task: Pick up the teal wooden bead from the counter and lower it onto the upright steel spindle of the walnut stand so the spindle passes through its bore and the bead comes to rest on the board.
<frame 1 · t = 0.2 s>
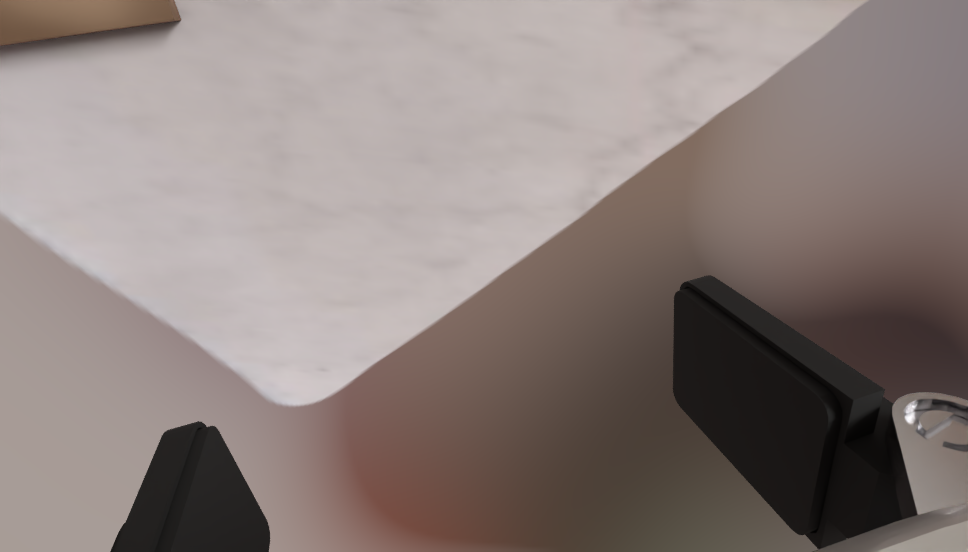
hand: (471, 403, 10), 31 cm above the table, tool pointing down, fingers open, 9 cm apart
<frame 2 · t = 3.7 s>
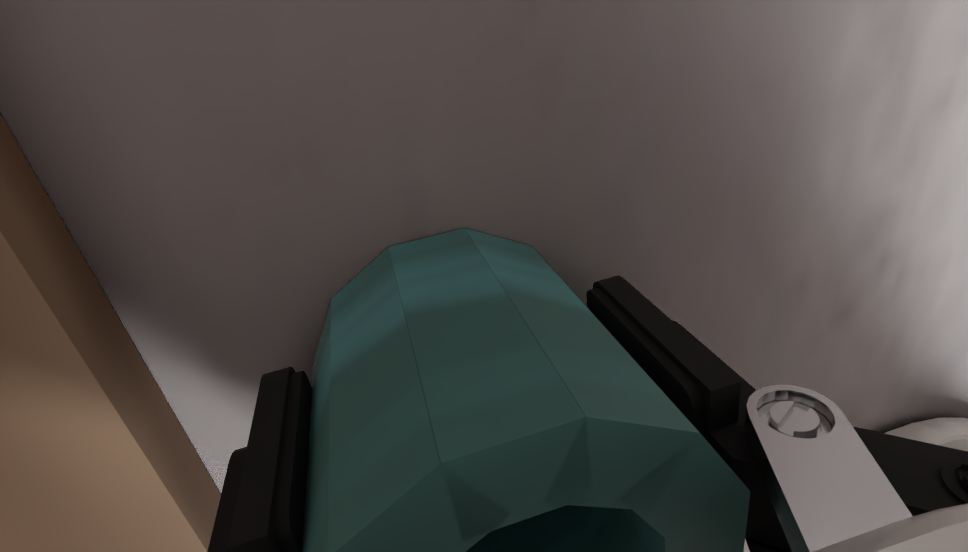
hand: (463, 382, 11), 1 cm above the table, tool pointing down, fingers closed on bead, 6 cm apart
bead: (453, 354, 12), on the table, touching gripper
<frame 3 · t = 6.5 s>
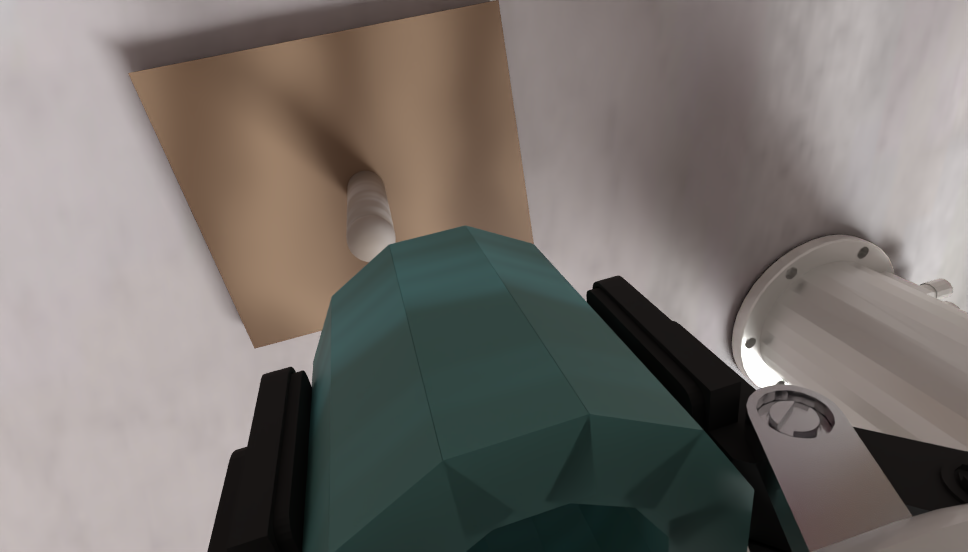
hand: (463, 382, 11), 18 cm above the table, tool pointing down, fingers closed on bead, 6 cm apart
bead: (454, 352, 12), point 17 cm above the table, touching gripper
spindle stand: (365, 181, 27), on the table
when the fingers open (5 cm above the table, at t = 9.3 s): bead drops 2 cm, resting on spindle stand.
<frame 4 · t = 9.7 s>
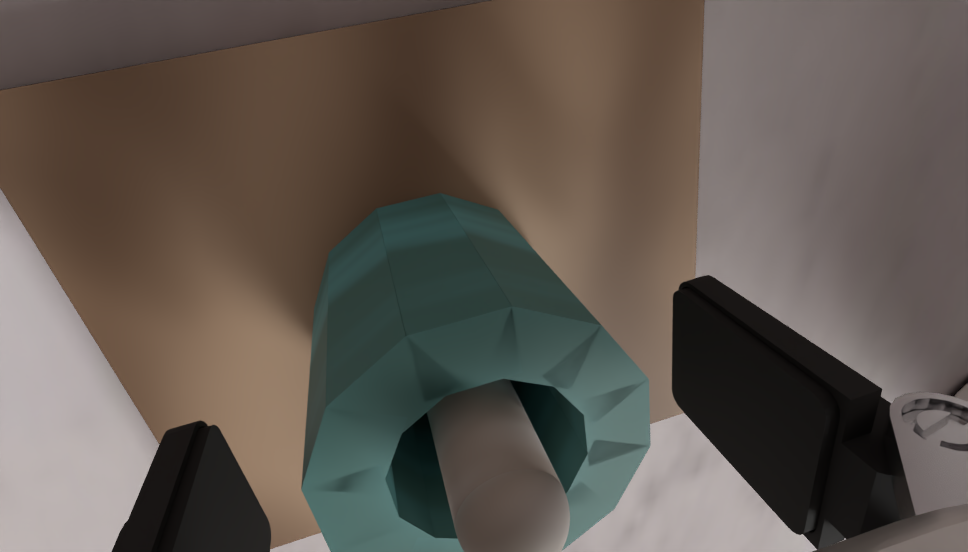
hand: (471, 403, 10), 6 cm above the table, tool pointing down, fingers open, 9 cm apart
bead: (433, 303, 14), point 1 cm above the table, touching spindle stand
spindle stand: (426, 280, 16), on the table
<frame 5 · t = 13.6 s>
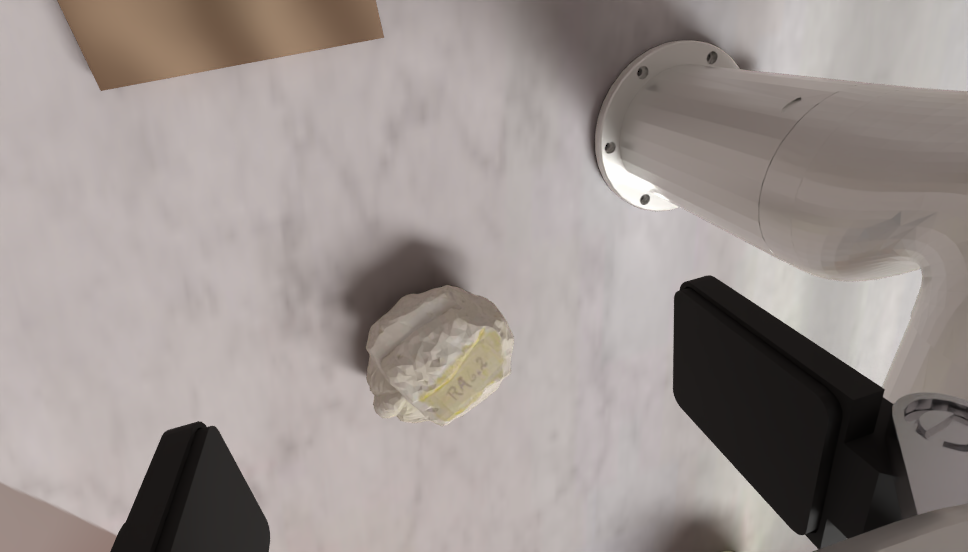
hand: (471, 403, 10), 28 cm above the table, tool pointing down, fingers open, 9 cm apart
fossil replica: (424, 331, 43), on the table
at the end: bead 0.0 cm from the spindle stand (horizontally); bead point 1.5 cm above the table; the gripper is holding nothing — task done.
